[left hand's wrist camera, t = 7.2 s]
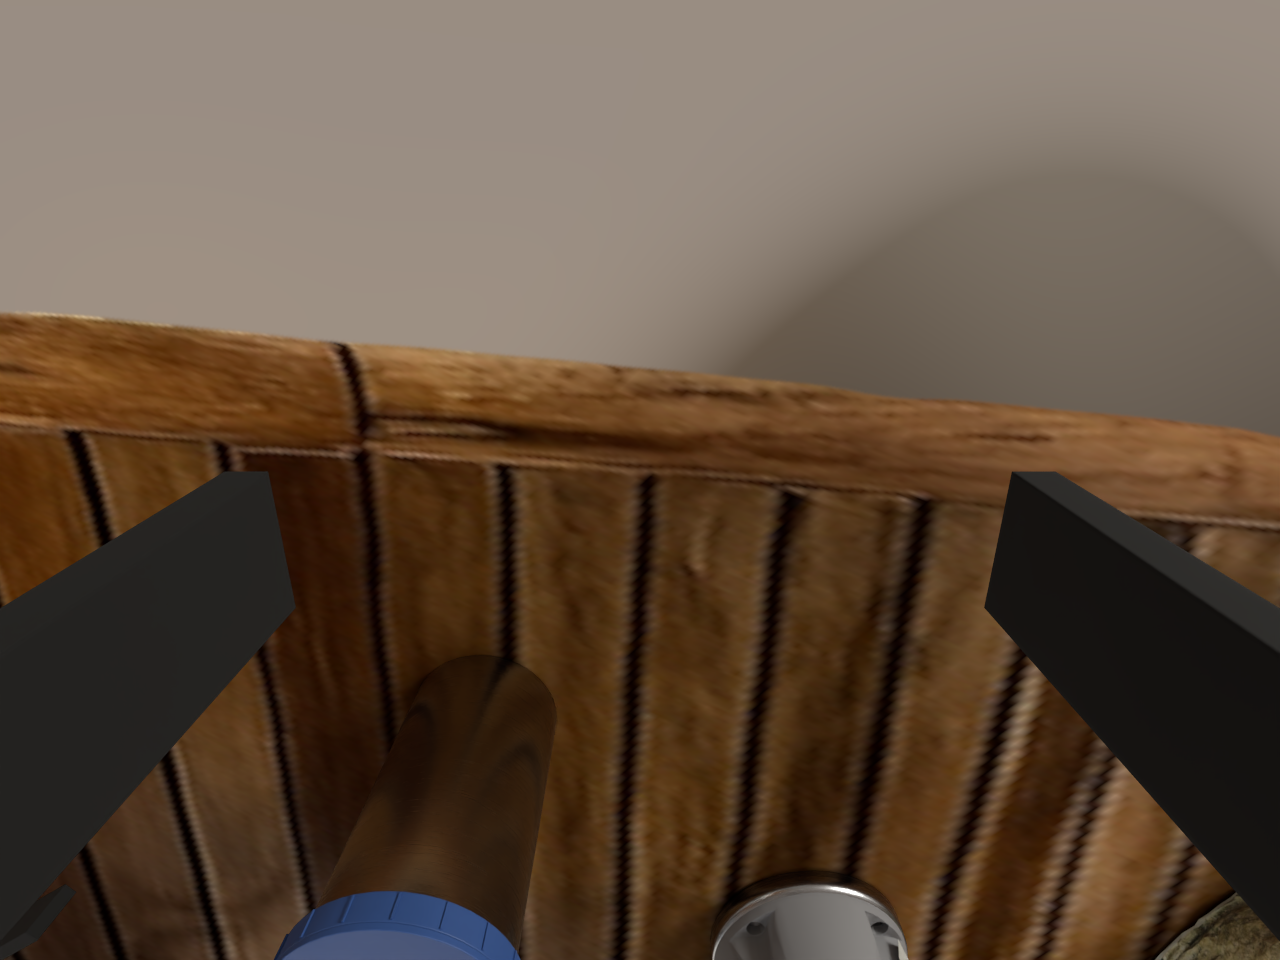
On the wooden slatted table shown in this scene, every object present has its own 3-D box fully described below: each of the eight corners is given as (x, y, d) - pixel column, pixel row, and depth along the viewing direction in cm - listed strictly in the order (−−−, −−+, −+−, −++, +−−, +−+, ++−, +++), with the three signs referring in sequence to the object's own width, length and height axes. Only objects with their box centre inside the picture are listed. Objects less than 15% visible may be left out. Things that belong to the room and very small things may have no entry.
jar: (554, 655, 46) (500, 930, 28) (558, 770, 50) (513, 1080, 32) (407, 654, 46) (260, 929, 28) (422, 769, 50) (300, 1079, 32)
